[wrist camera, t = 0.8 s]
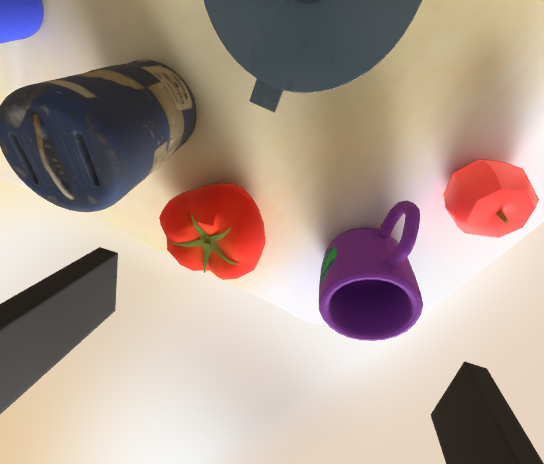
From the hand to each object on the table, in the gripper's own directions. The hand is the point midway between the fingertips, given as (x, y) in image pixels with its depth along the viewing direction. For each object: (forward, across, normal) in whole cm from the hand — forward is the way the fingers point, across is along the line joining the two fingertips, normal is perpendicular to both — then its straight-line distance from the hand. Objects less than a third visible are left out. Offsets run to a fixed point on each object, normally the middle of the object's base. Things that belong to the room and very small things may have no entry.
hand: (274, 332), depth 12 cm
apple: (+29, +17, +4) cm, 34 cm away
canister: (+26, -19, +4) cm, 33 cm away
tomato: (+30, -10, -7) cm, 32 cm away
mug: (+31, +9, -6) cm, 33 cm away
